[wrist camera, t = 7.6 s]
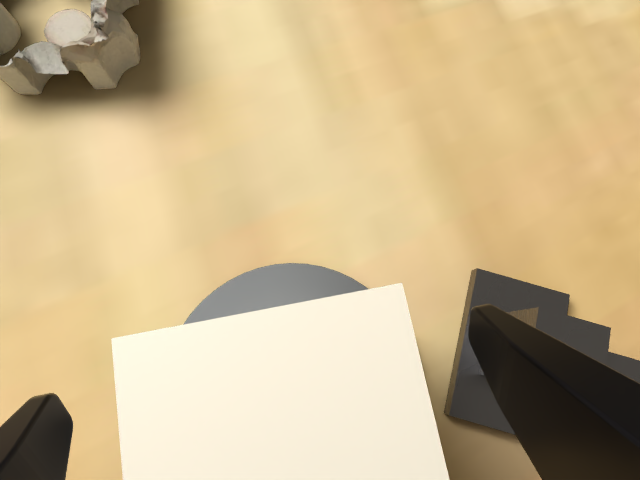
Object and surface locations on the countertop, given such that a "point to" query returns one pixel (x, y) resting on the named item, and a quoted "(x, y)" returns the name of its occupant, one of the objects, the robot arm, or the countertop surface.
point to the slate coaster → (273, 290)
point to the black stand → (536, 310)
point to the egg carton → (72, 47)
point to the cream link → (280, 395)
